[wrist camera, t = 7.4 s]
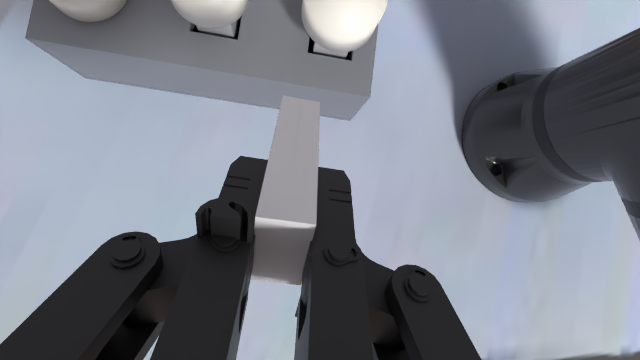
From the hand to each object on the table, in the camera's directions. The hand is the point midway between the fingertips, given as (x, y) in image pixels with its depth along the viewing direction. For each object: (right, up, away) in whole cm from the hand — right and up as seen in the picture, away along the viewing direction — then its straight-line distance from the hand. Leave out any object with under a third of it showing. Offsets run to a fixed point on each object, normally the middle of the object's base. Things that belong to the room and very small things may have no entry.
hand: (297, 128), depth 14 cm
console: (-9, +13, +22) cm, 27 cm away
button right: (+2, +10, +17) cm, 20 cm away
